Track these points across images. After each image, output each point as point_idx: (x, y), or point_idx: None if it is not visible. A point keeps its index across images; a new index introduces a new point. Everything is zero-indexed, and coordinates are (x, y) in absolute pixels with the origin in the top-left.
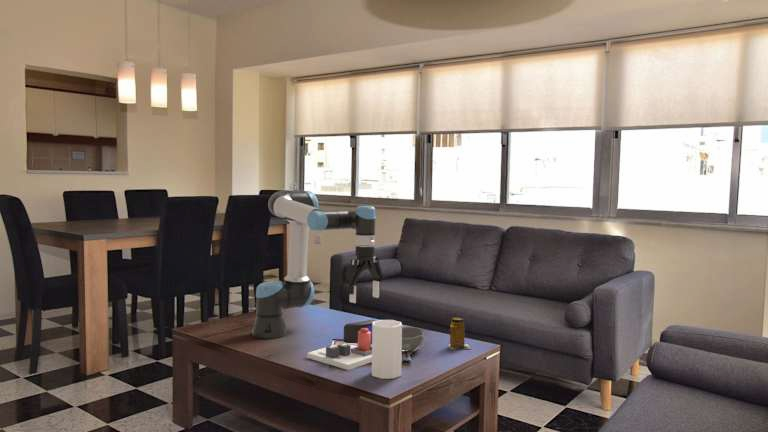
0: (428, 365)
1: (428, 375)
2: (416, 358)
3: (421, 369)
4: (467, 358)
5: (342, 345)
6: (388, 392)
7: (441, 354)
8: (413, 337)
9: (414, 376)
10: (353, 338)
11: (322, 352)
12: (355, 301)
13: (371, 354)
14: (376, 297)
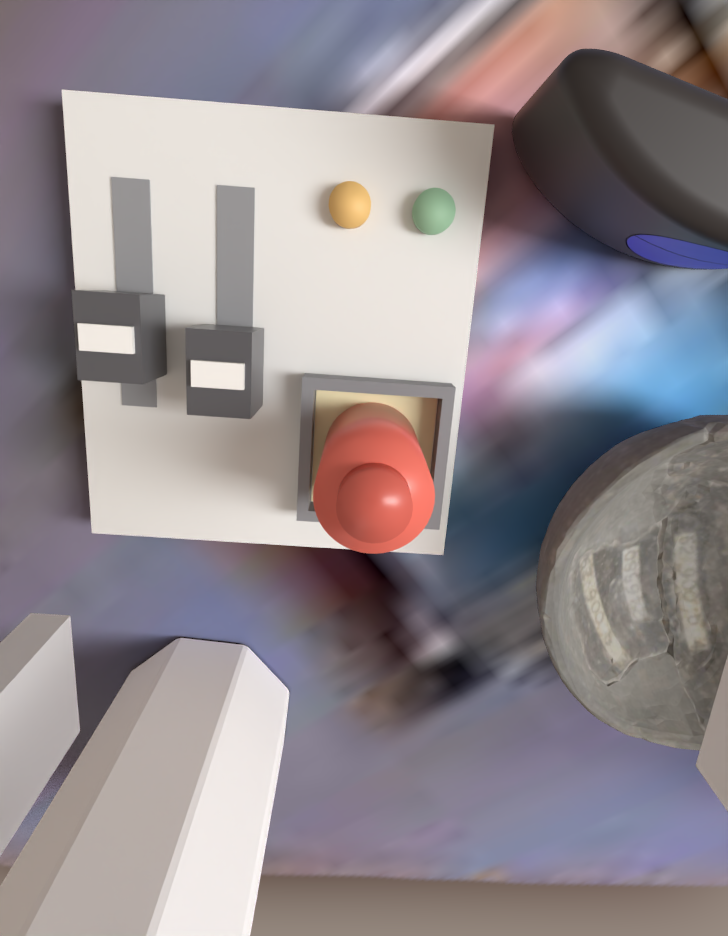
0: (470, 788)
1: (334, 853)
2: (544, 688)
3: (390, 792)
4: (693, 870)
5: (191, 381)
6: (23, 835)
7: (693, 751)
8: (631, 733)
9: (277, 816)
10: (564, 191)
11: (156, 193)
12: (54, 750)
13: None
14: (703, 741)
